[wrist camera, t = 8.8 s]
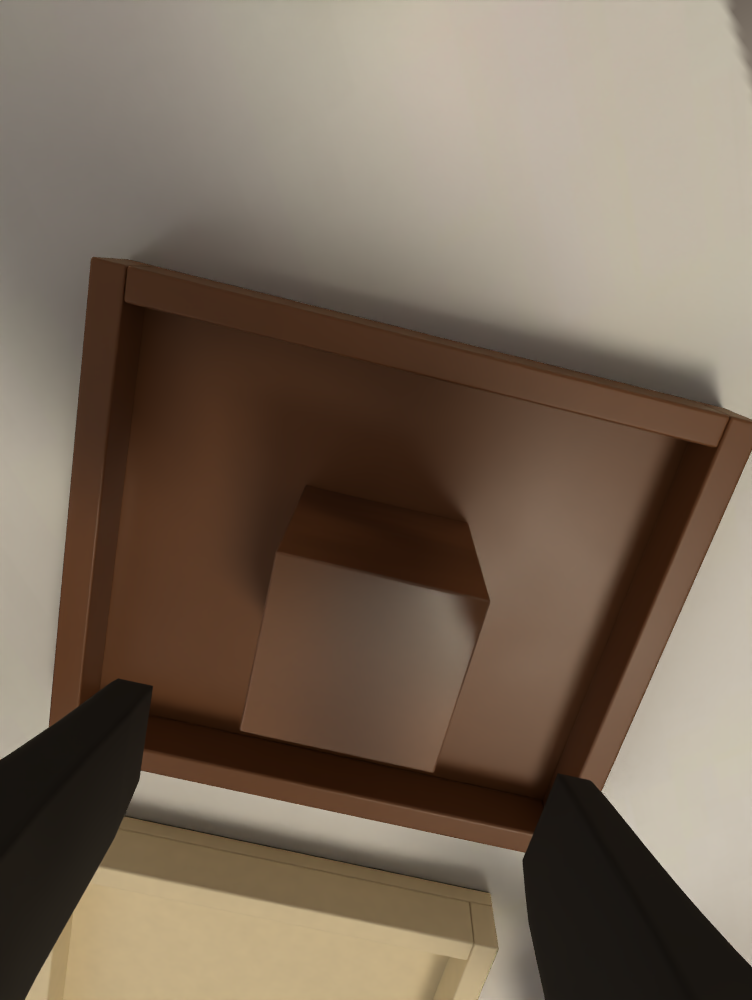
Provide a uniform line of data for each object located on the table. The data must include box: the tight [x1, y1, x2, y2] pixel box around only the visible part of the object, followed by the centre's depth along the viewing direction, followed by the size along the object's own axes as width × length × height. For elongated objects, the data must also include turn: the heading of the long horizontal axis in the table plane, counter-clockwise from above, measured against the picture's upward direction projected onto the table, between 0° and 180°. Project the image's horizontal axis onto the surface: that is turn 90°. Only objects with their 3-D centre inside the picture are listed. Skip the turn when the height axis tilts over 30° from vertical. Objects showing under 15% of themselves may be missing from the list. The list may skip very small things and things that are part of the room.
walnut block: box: [240, 485, 490, 773], centre depth 16 cm, size 4×4×4 cm
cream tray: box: [25, 817, 499, 1000], centre depth 23 cm, size 15×12×2 cm
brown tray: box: [49, 257, 752, 853], centre depth 18 cm, size 16×14×2 cm
